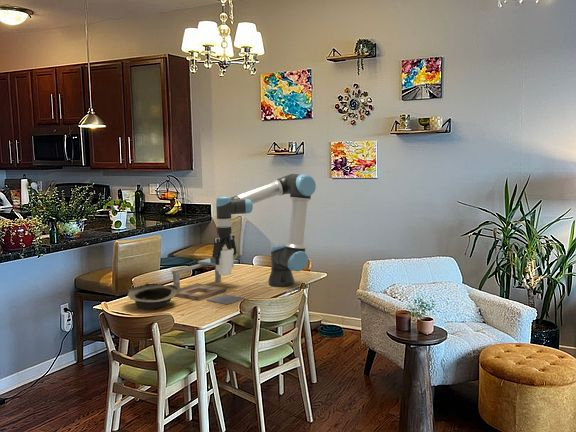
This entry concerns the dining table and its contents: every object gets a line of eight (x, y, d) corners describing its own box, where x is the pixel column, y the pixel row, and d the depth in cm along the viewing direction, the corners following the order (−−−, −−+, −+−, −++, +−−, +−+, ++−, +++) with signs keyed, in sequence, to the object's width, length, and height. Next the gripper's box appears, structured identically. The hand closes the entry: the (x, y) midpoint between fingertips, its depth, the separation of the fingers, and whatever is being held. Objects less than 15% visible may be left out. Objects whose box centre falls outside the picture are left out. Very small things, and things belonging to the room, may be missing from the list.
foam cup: (235, 272, 289) (235, 247, 288) (232, 275, 280) (231, 250, 279) (218, 271, 290) (217, 247, 289) (214, 275, 281) (213, 250, 280)
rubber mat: (244, 298, 289) (244, 297, 289) (227, 304, 277) (227, 303, 277) (224, 294, 296) (224, 294, 296) (207, 300, 285) (206, 299, 285)
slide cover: (238, 262, 315) (238, 255, 314) (222, 266, 303) (222, 259, 303) (214, 259, 325) (214, 252, 324) (198, 263, 313) (197, 255, 313)
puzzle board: (245, 285, 318) (244, 262, 316) (198, 300, 285) (197, 275, 284) (216, 280, 330) (216, 258, 328) (168, 295, 298) (168, 270, 296)
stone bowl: (157, 296, 295) (157, 279, 293) (187, 307, 279) (188, 290, 278) (117, 305, 276) (117, 288, 274) (147, 318, 260) (148, 299, 259)
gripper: (232, 223, 293) (233, 264, 296) (204, 228, 275) (205, 272, 278) (243, 224, 289) (243, 266, 292) (215, 229, 271) (216, 273, 274)
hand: (225, 269), depth 285 cm, fingers closed on foam cup, 9 cm apart
